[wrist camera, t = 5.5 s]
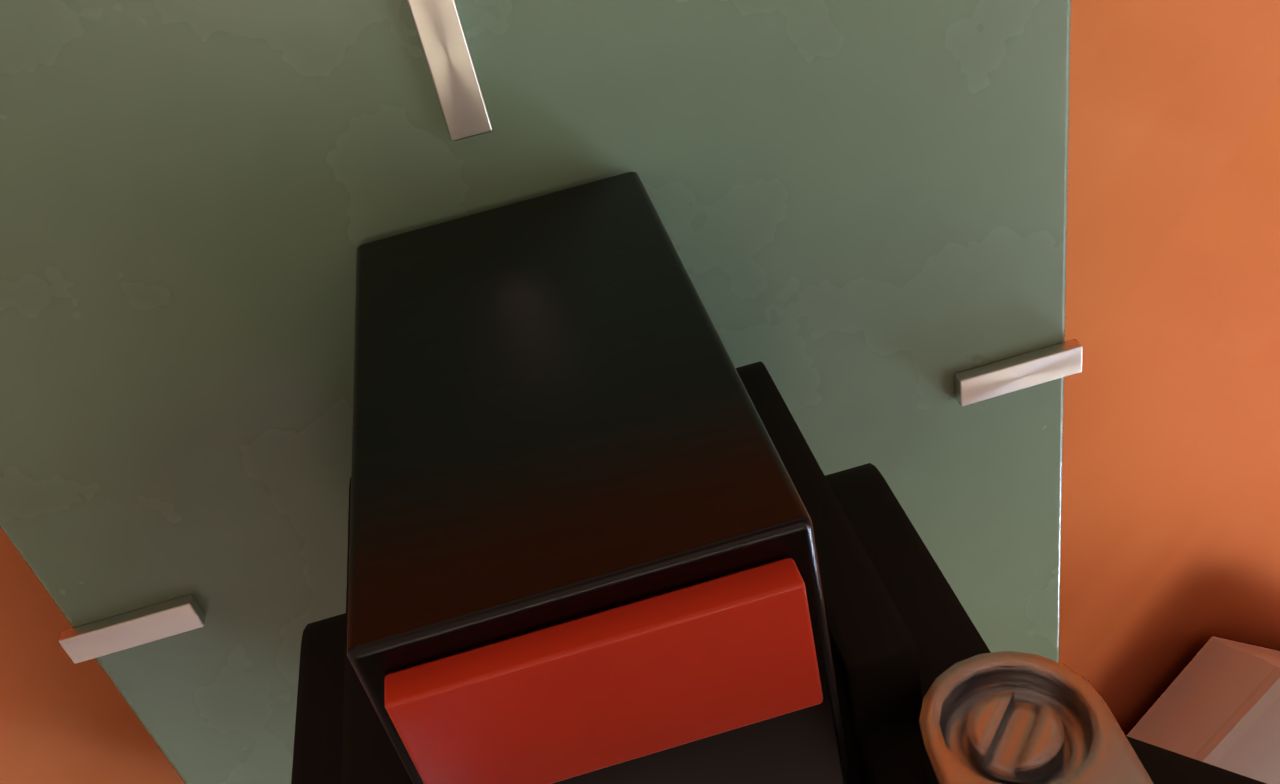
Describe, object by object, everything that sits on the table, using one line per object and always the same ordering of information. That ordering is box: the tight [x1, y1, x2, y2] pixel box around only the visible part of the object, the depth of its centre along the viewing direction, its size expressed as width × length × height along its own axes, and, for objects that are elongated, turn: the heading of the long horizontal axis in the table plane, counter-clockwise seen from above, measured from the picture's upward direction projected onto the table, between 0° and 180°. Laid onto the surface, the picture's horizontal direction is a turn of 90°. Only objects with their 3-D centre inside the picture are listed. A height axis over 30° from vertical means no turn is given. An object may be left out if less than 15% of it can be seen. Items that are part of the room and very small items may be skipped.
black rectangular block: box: [347, 172, 851, 784], centre depth 10 cm, size 7×3×5 cm, turn 11°
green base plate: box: [0, 0, 1083, 784], centre depth 13 cm, size 14×11×3 cm
